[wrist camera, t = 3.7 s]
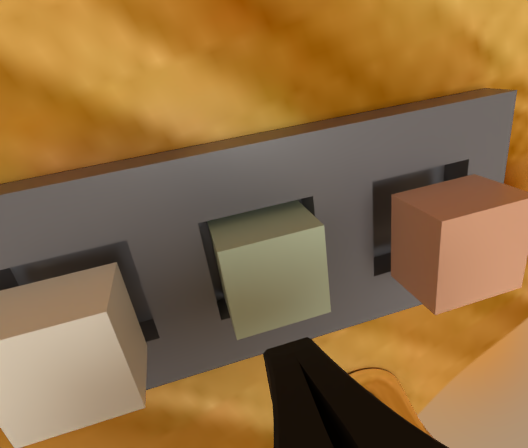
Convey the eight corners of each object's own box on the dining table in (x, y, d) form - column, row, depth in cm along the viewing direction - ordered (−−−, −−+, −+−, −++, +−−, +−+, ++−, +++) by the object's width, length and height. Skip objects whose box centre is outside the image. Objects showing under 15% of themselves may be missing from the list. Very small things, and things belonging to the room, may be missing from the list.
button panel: (465, 268, 21) (488, 283, 20) (25, 399, 17) (12, 431, 16) (485, 88, 17) (517, 90, 16) (-93, 202, 13) (-127, 220, 11)
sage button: (304, 275, 18) (330, 312, 15) (224, 297, 17) (236, 340, 14) (296, 199, 16) (324, 225, 13) (206, 220, 15) (217, 252, 13)
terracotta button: (465, 253, 17) (521, 287, 15) (390, 275, 17) (435, 314, 14) (474, 173, 16) (539, 195, 13) (391, 194, 15) (441, 221, 12)
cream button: (147, 346, 15) (145, 407, 12) (42, 377, 14) (15, 449, 11) (116, 262, 13) (106, 311, 10) (-5, 292, 12) (-50, 353, 10)
